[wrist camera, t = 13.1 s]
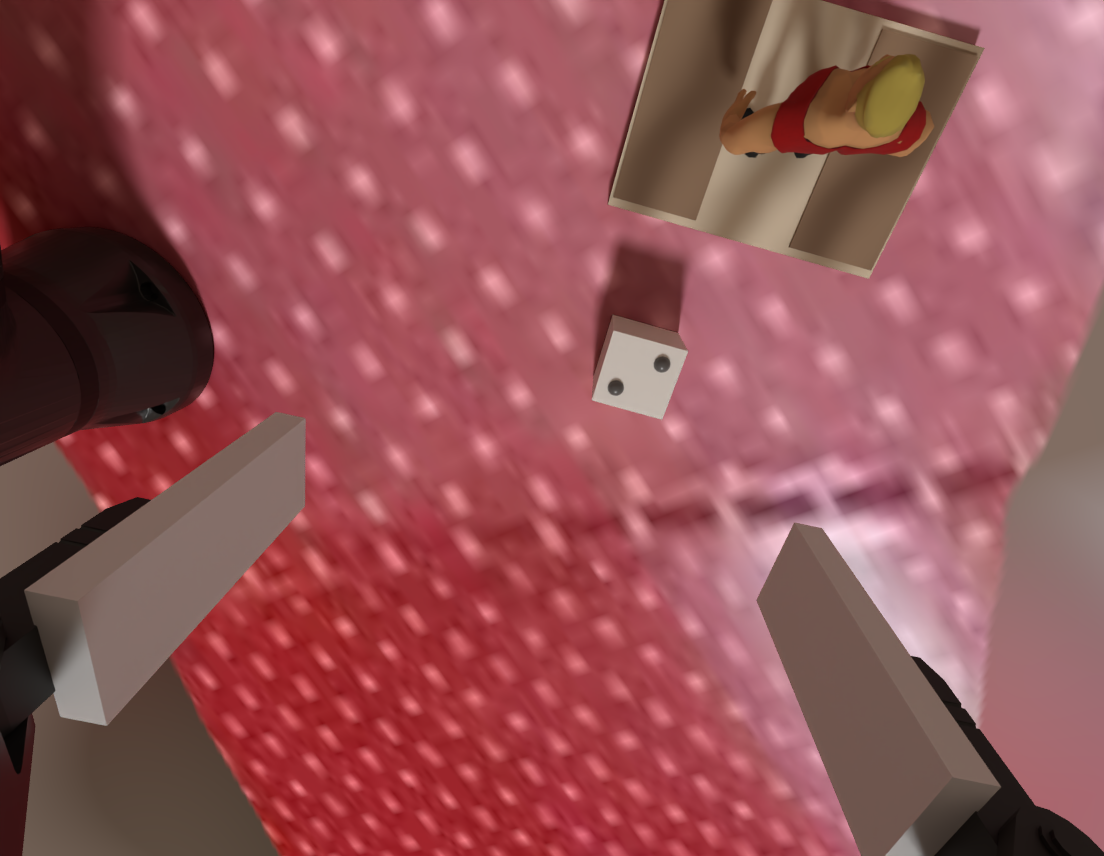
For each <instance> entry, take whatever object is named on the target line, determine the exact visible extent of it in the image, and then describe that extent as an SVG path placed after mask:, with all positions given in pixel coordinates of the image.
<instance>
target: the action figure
mask: <svg viewBox="0 0 1104 856" xmlns="http://www.w3.org/2000/svg"><path fill="white" fill-rule="evenodd" d="M924 83H925V76H924V72H923V69H922V67H921V62H920V59H919V58H918V57H917V56H916V55H913V54H905V55H897V56H891V55H888V54H887V55H885V56H883V57H882V58H881V59H880V60H879V61H877V62H875V64H873V65H872V66H869V65H867V66H864V67H861V68H858V69H856V70H853V71H848V70H845V69H840V68H839V67H838V66H836V65H835V66H832V67H829V68H825V69H821V70H819V71H817V72H815V73H814V74H812V75H810V76H808V78H807V79H806V80H805V81H804V82H803V83H801V84H800V85H798V86H797V88H796V89H795V90H794V91H793V92H792V93H791V94H790V95H789V97H788V98H787V99H786V100H785V101H784V102H781V103H777V104H773V105H769V106H766V107H764V108H762V109H760V110H758V111H756V112H753V110H752V109H751V108H747V107H748V105H749V103H750V102H751V100H752V99H754V97H755V95H756V91H754V90H753V91H750V92H749V93H748V94H746V92H747V91H746V89H742V90H741V91H740V92H739V93H738V95H737V97H736V100H735V102H734V103H733V104H732V105H731V106H730V108H729V109H728V110H727V112H726V113H725V115H724V117H723V119H722V124H721V127H720V134H719V137H720V141H721V143H722V144H723V146H724V147H725V149H726V150H727V151H728V152H730V153H732V154H734V155H740V154H745V155H746V156H748V157H750V158H756V157H757V155H758V154H766V153H770V152H773V151H776V150H778V151H779V152H781V153H787V152H794V154H795V156H796V158H805V157H806V156H808V155H811V154H819V155H824V154H827V153H830V152H833V151H837V152H838V153H840V154H841V155H853V154H868V153H872V154H882V155H886V154H888V155H893V156H898V157H903V156H907V155H908V154H910V153H911V152H913V150H914V149H916V148H917V147H919V146H920V145H921V144H922V143H923V142H924V141H925V140H926V139H927V137H928V136H929V134H930V133H931V131H932V130H933V128H934V124H933V121H932V118H931V115H930V112H929V111H927V110H925V108H924V106H923V104H922V102H921V101H919V100H920V97H921V95H922V91H923V87H924ZM744 96H745V97H744Z"/></svg>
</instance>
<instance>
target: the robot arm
mask: <svg viewBox="0 0 1104 856" xmlns="http://www.w3.org/2000/svg"><path fill="white" fill-rule="evenodd" d="M212 366H213V343H212V336H211V332H210V328H209V325H208V322H207V319H206V316H205V314H204V312H203V309H202V307H201V305H200V303H199V302H198V300H197V298H196V296H195V295H194V293H193V292H192V290H191V289H190V287H189V286H188V284H187V283H186V282H185V281H184V279H183V278H182V277H181V276H180V275H179V273H178V272H177V271H176V270H175V269H174V268H173V267H172V266H171V265H170V264H169V263H168V262H167V261H166V260H164V259H163V258H162V257H161V256H160V255H158V254H157V253H156V252H154V251H153V250H152V249H150V248H149V247H147V246H145V245H144V244H142V243H140V242H139V241H137V240H135V239H133V238H131V237H129V236H126V235H124V234H121V233H118V232H115V231H112V230H108V229H103V228H95V227H79V228H62V229H53V230H48V231H44V232H40V233H37V234H34V235H32V236H30V237H28V238H26V239H24V240H22V241H20V242H18V243H16V244H14V245H11V246H9V247H7V248H5V249H3V250H1V247H0V466H2V465H4V464H6V463H8V462H11V461H13V460H15V459H17V458H19V457H22V456H24V455H26V454H27V453H30V452H32V451H34V450H37V449H39V448H41V447H43V446H45V445H48V444H50V443H52V442H54V441H56V440H58V439H60V438H62V437H65V436H67V435H69V434H72V433H74V432H76V431H79V430H85V429H94V428H103V427H112V426H122V425H131V424H140V423H147V422H151V421H155V420H158V419H161V418H164V417H166V416H168V415H170V414H172V413H174V412H176V411H178V410H180V409H182V408H184V407H186V406H188V405H189V404H191V403H192V402H193V401H194V400H195V399H196V398H197V397H198V396H199V395H200V394H201V393H202V391H203V390H204V388H205V387H206V385H207V383H208V380H209V378H210V375H211V371H212ZM304 506H305V418H302V417H297V416H292V415H288V414H283V413H278V412H275V413H274V414H273V415H271V416H270V417H268V418H267V419H266V420H264V421H263V422H261V423H260V424H258V425H257V426H256V427H254V428H253V429H251V430H250V431H249V432H247V433H246V434H244V435H243V436H242V437H240V438H239V439H237V440H236V441H234V442H233V443H232V444H230V445H229V446H227V447H226V448H225V449H223V450H222V451H220V452H219V453H217V454H216V455H215V456H213V457H212V458H210V459H209V460H208V461H206V462H205V463H203V464H202V465H200V466H199V467H198V468H196V469H195V470H193V471H192V472H191V473H189V474H188V475H186V476H185V477H183V478H182V479H181V480H179V481H178V482H176V483H175V484H174V485H172V486H171V487H169V488H168V489H167V490H165V491H164V492H162V493H161V494H159V495H158V496H157V497H155V498H154V499H152V500H149V499H144V498H139V497H136V498H134V499H131V500H128V501H126V502H123V503H120V504H118V505H115V506H112V507H110V508H107V509H105V510H104V511H102V512H101V513H99V514H98V515H96V516H95V517H93V518H91V519H90V520H89V521H87V522H85V523H84V524H83V525H81V528H80V529H75V530H73V531H72V532H70V533H69V534H67V535H66V536H65V537H63V538H61V541H60V542H59V543H57V542H55V543H54V544H52V545H50V546H49V547H47V548H46V549H45V550H43V551H41V552H40V553H38V554H37V555H35V556H34V557H32V558H31V559H29V560H28V561H26V562H25V563H23V564H22V565H20V566H19V567H17V568H16V569H14V570H13V571H11V572H9V573H8V574H7V575H5V576H4V577H2V578H1V579H0V856H22V851H23V841H24V832H25V822H26V812H27V801H28V792H29V782H30V773H31V763H32V754H33V753H32V752H33V744H34V733H35V723H34V719H33V715H32V712H33V711H34V710H35V709H37V708H38V707H39V706H40V705H41V704H42V703H43V702H44V701H45V700H46V699H47V698H48V697H50V696H51V695H52V694H53V693H54V696H55V700H56V703H57V707H58V710H59V713H60V717H64V718H70V719H75V720H80V721H85V722H90V723H95V724H100V725H106V726H107V725H108V724H109V723H110V722H111V721H112V719H113V718H114V717H115V716H116V715H117V714H118V713H119V712H120V711H121V709H122V708H123V707H124V706H125V705H126V704H127V703H128V702H129V701H130V699H131V698H132V697H133V696H134V695H135V694H136V693H137V692H138V691H139V689H140V688H141V687H142V686H143V685H144V684H145V683H146V682H147V681H148V680H149V678H150V677H151V676H152V675H153V674H154V673H155V672H156V671H157V670H158V668H159V667H160V666H161V665H162V664H163V663H164V662H165V661H166V660H167V658H168V657H169V656H170V655H171V654H172V653H173V652H174V651H175V650H176V648H177V647H178V646H179V645H180V644H181V643H182V642H183V641H184V640H185V638H186V637H187V636H188V635H189V634H190V633H191V632H192V631H193V630H194V628H195V627H196V626H197V625H198V624H199V623H200V622H201V621H202V620H203V619H204V617H205V616H206V615H207V614H208V613H209V612H210V611H211V610H212V609H213V607H214V606H215V605H216V604H217V603H218V602H219V601H220V600H221V599H222V597H223V596H224V595H225V594H226V593H227V592H228V591H229V590H230V589H231V587H232V586H233V585H234V584H235V583H236V582H237V581H238V580H239V579H240V577H241V576H242V575H243V574H244V573H245V572H246V571H247V570H248V569H249V567H250V566H251V565H252V564H253V563H254V562H255V561H256V560H257V559H258V557H259V556H260V555H261V554H262V553H263V552H264V551H265V550H266V549H267V547H268V546H269V545H270V544H271V543H272V542H273V541H274V540H275V539H276V538H277V536H278V535H279V534H280V533H281V532H282V531H283V530H284V529H285V528H286V526H287V525H288V524H289V523H290V522H291V521H292V520H293V519H294V518H295V516H296V515H297V514H298V513H299V512H300V511H301V510H302V509H303V508H304ZM757 603H758V605H759V608H760V610H761V612H762V615H763V617H764V620H765V622H766V625H767V627H768V629H769V632H770V634H771V637H772V639H773V642H774V644H775V647H776V649H777V651H778V654H779V656H780V659H781V661H782V664H783V666H784V668H785V671H786V673H787V676H788V678H789V681H790V683H791V686H792V688H793V690H794V693H795V695H796V698H797V700H798V703H799V705H800V707H801V710H802V712H803V715H804V717H805V720H806V722H807V725H808V727H809V729H810V732H811V734H812V737H813V739H814V742H815V744H816V746H817V749H818V751H819V754H820V756H821V759H822V761H823V764H824V766H825V768H826V771H827V773H828V776H829V778H830V781H831V783H832V785H833V788H834V790H835V793H836V795H837V798H838V800H839V803H840V805H841V807H842V810H843V812H844V815H845V817H846V820H847V822H848V824H849V827H850V829H851V832H852V834H853V837H854V839H855V842H856V844H857V846H858V849H859V851H860V854H861V856H1104V852H1103V851H1102V850H1101V849H1100V848H1099V847H1098V846H1097V845H1096V844H1095V843H1094V842H1093V841H1092V840H1091V839H1090V838H1089V837H1088V836H1087V835H1086V834H1084V833H1083V832H1082V831H1080V830H1079V829H1078V828H1077V827H1075V826H1074V825H1073V824H1072V823H1070V822H1069V821H1068V820H1066V819H1064V818H1062V817H1061V816H1059V815H1057V814H1055V813H1053V812H1052V811H1050V810H1048V809H1044V808H1041V807H1038V806H1035V805H1034V803H1033V802H1032V800H1031V799H1030V798H1029V796H1028V795H1027V794H1026V792H1025V791H1024V789H1023V788H1022V787H1021V785H1020V784H1019V783H1018V781H1017V780H1016V778H1015V777H1014V776H1013V774H1012V773H1011V772H1010V770H1009V769H1008V767H1007V766H1006V765H1005V763H1004V762H1003V761H1002V759H1001V758H1000V756H999V755H998V754H997V753H996V751H995V750H994V748H993V747H992V745H991V744H990V743H989V741H988V740H987V739H986V737H985V736H984V734H983V733H982V732H981V730H980V729H976V723H975V722H974V721H973V719H972V718H971V716H970V715H969V714H968V712H967V711H966V710H965V709H963V708H961V703H960V701H959V700H958V699H957V697H956V696H955V694H954V693H953V692H952V690H951V689H950V688H949V686H948V685H947V683H946V682H945V681H944V680H943V679H942V678H941V677H940V676H939V675H938V674H937V673H936V672H935V671H934V670H933V669H931V668H930V667H929V666H928V665H927V664H926V663H925V662H924V661H923V660H922V659H921V658H918V657H914V656H910V655H909V653H908V652H907V650H906V649H905V647H904V646H903V644H902V643H901V642H900V640H899V639H898V637H897V636H896V634H895V633H894V631H893V630H892V629H891V627H890V626H889V624H888V623H887V621H886V620H885V618H884V617H883V616H882V614H881V613H880V611H879V610H878V608H877V607H876V605H875V604H874V603H873V601H872V600H871V598H870V597H869V595H868V594H867V592H866V591H865V590H864V588H863V587H862V585H861V584H860V582H859V581H858V579H857V578H856V577H855V575H854V574H853V572H852V571H851V569H850V568H849V566H848V565H847V564H846V562H845V561H844V559H843V558H842V556H841V555H840V553H839V552H838V551H837V549H836V548H835V546H834V545H833V543H832V542H831V540H830V539H829V538H828V536H827V535H826V533H825V532H824V530H823V529H822V528H818V527H813V526H808V525H804V524H799V523H794V524H793V526H792V528H791V531H790V533H789V535H788V537H787V539H786V541H785V543H784V545H783V547H782V549H781V551H780V553H779V555H778V557H777V559H776V561H775V563H774V565H773V567H772V570H771V572H770V574H769V576H768V578H767V580H766V582H765V584H764V586H763V588H762V590H761V592H760V594H759V596H758V598H757Z"/></svg>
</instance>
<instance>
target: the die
mask: <svg viewBox="0 0 1104 856" xmlns="http://www.w3.org/2000/svg"><path fill="white" fill-rule="evenodd" d="M687 353H688V350H687V348H686V346H685V345H684V343H683V341H682V339H681V337H680V335H679V333H677V332H673V331H670V330H666V329H662V328H659V327H655V326H652V325H648V324H645V323H641V322H637V321H634V320H630V319H627V318H623V317H620V316H616V315H612V318H611V321H610V325H609V328H608V331H607V334H606V338H605V341H604V344H603V347H602V351H601V354H600V357H599V360H598V364H597V367H596V370H595V373H594V377H593V390H592V400H593V401H596V402H600V403H604V404H607V405H611V406H614V407H618V408H622V409H625V410H629V411H633V412H636V413H640V414H643V415H647V416H651V417H654V418H658V419H661V420H662V419H663V416H664V413H665V411H666V408H667V405H668V403H669V400H670V398H671V395H672V392H673V390H674V387H675V384H676V382H677V379H678V377H679V374H680V371H681V369H682V366H683V363H684V361H685V358H686V356H687Z"/></svg>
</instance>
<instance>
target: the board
mask: <svg viewBox="0 0 1104 856" xmlns="http://www.w3.org/2000/svg"><path fill="white" fill-rule="evenodd" d="M983 50H984V48H982V47H978V46H975V45H972V44H968V43H965V42H961V41H958V40H955V39H951V38H948V37H944V36H941V35H938V34H934V33H931V32H927V31H924V30H921V29H917V28H914V27H911V26H907V25H904V24H900V23H897V22H894V21H890V20H887V19H883V18H880V17H877V16H873V15H870V14H866V13H863V12H860V11H856V10H853V9H849V8H846V7H843V6H839V5H836V4H832V3H829V2H826V1H822V0H665V1H664V4H663V8H662V11H661V15H660V19H659V22H658V26H657V29H656V33H655V37H654V40H653V44H652V47H651V51H650V55H649V58H648V62H647V65H646V69H645V72H644V76H643V80H642V83H641V87H640V90H639V94H638V98H637V101H636V105H635V108H634V112H633V116H632V119H631V123H630V126H629V130H628V134H627V137H626V141H625V144H624V148H623V151H622V155H621V159H620V162H619V166H618V169H617V173H616V177H615V180H614V184H613V187H612V191H611V195H610V198H609V202H608V205H611V206H615V207H618V208H622V209H625V210H629V211H632V212H636V213H639V214H643V215H647V216H650V217H654V218H657V219H661V220H664V221H668V222H671V223H675V224H678V225H682V226H685V227H689V228H692V229H696V230H699V231H703V232H706V233H710V234H713V235H717V236H720V237H724V238H727V239H731V240H734V241H738V242H742V243H745V244H749V245H752V246H756V247H759V248H763V249H766V250H770V251H773V252H777V253H780V254H784V255H787V256H791V257H794V258H798V259H801V260H805V261H808V262H812V263H815V264H819V265H822V266H826V267H830V268H833V269H837V270H840V271H844V272H847V273H851V274H854V275H858V276H861V277H865V278H868V279H869V277H870V275H871V273H872V271H873V269H874V267H875V265H876V263H877V261H878V259H879V257H880V255H881V253H882V251H883V249H884V247H885V245H886V243H887V241H888V239H889V237H890V235H891V233H892V231H893V229H894V227H895V225H896V223H897V221H898V219H899V217H900V216H901V214H902V212H903V210H904V208H905V206H906V204H907V202H908V200H909V198H910V196H911V194H912V192H913V190H914V188H915V186H916V184H917V182H918V180H919V178H920V176H921V174H922V172H923V170H924V168H925V166H926V164H927V162H928V160H929V158H930V156H931V154H932V152H933V150H934V148H935V146H936V144H937V142H938V140H939V138H940V136H941V134H942V132H943V130H944V128H945V126H946V124H947V122H948V120H949V118H950V116H951V114H952V112H953V110H954V108H955V106H956V104H957V102H958V100H959V98H960V96H961V94H962V92H963V90H964V88H965V86H966V84H967V82H968V80H969V78H970V76H971V74H972V72H973V70H974V68H975V66H976V64H977V62H978V60H979V58H980V56H981V54H982V52H983ZM887 54H888V55H891V56H897V55H905V54H913V55H916V56H917V57H918V58H919V59H920V62H921V67H922V69H923V72H924V76H925V83H924V87H923V91H922V95H921V97H920V100H919V101H921V102H922V104H923V106H924V108H925V110H927V111H929V112H930V115H931V118H932V121H933V124H934V128H933V130H932V131H931V133H930V134H929V136H928V137H927V139H926V140H925V141H924V142H923V143H922V144H921V145H920V146H919V147H917V148H916V149H914V150H913V152H911V153H910V154H908V155H907V156H903V157H898V156H893V155H888V154H886V155H882V154H872V153H868V154H853V155H841V154H840V153H838V152H837V151H833V152H830V153H827V154H824V155H819V154H811V155H808V156H806V157H805V158H796V156H795V154H794V152H787V153H781V152H779V151H778V150H776V151H773V152H770V153H766V154H758V155H757V157H756V158H750V157H748V156H746V155H745V154H740V155H734V154H732V153H730V152H728V151H727V150H726V149H725V147H724V146H723V144H722V143H721V141H720V137H719V134H720V127H721V124H722V119H723V117H724V115H725V113H726V112H727V110H728V109H729V108H730V106H731V105H732V104H733V103H734V102H735V100H736V97H737V95H738V93H739V92H740V91H741V90H742V89H746V91H747V92H746V94H748V93H749V92H750V91H753V90H754V91H756V95H755V97H754V99H752V100H751V102H750V103H749V105H748V107H747V108H751V109H752V110H753V112H756V111H758V110H760V109H762V108H764V107H766V106H769V105H773V104H777V103H781V102H784V101H785V100H786V99H787V98H788V97H789V95H790V94H791V93H792V92H793V91H794V90H795V89H796V88H797V86H798V85H800V84H801V83H803V82H804V81H805V80H806V79H807V78H808V76H810V75H812V74H814V73H815V72H817V71H819V70H821V69H825V68H829V67H832V66H835V65H836V66H838V67H839V68H840V69H845V70H848V71H853V70H856V69H858V68H861V67H864V66H867V65H869V66H872V65H873V64H875V62H877V61H879V60H880V59H881V58H882V57H883V56H885V55H887ZM744 97H745V96H744Z"/></svg>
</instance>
